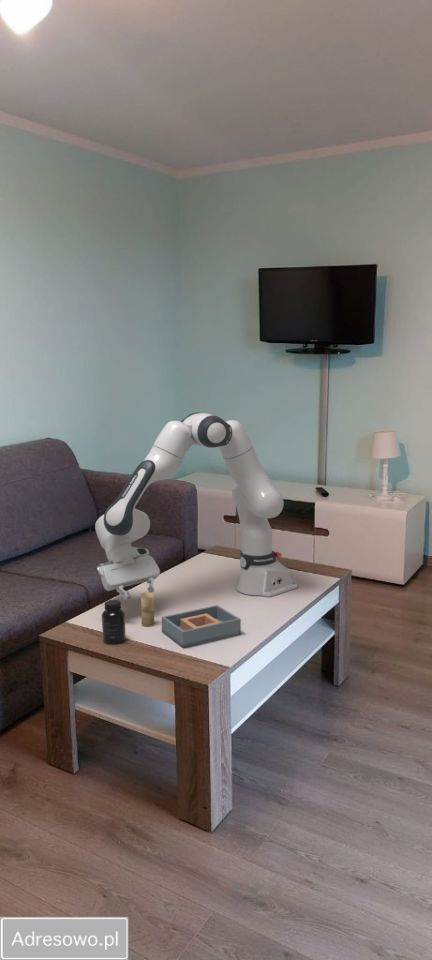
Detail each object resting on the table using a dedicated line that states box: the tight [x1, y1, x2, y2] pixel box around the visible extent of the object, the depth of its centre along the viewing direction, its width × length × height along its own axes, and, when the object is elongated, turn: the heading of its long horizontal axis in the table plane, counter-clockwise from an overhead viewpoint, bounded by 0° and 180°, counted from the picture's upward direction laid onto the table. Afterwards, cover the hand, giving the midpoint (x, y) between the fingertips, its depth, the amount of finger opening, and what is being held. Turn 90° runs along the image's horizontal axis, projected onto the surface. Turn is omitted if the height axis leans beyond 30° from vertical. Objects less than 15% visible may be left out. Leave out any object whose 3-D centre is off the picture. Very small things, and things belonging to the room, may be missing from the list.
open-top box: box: [161, 604, 242, 649], centre depth 223 cm, size 20×14×5 cm
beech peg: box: [140, 591, 155, 628], centre depth 230 cm, size 4×4×10 cm
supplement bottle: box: [101, 599, 126, 645], centre depth 218 cm, size 7×7×12 cm
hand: (140, 594), depth 232 cm, fingers open, 8 cm apart
